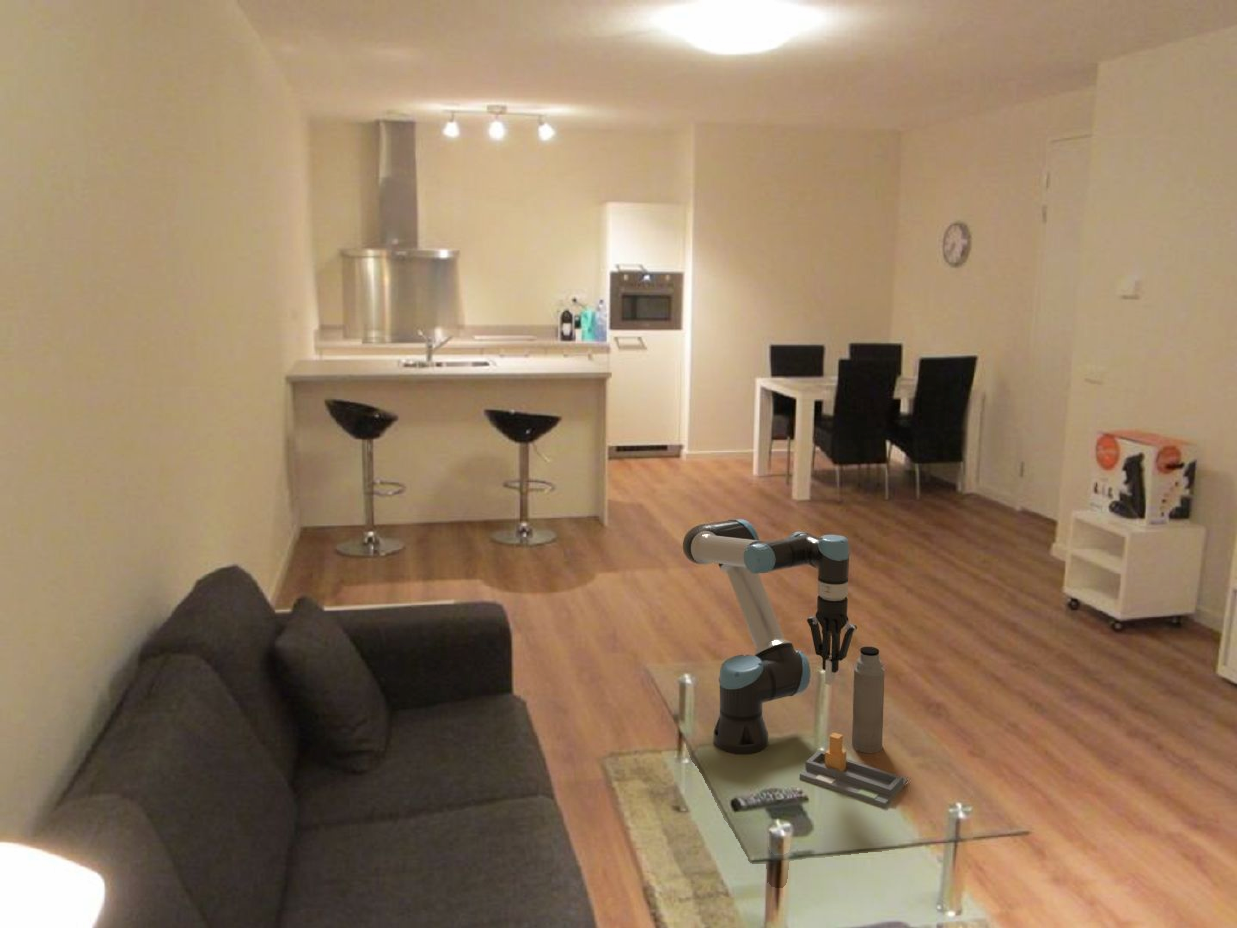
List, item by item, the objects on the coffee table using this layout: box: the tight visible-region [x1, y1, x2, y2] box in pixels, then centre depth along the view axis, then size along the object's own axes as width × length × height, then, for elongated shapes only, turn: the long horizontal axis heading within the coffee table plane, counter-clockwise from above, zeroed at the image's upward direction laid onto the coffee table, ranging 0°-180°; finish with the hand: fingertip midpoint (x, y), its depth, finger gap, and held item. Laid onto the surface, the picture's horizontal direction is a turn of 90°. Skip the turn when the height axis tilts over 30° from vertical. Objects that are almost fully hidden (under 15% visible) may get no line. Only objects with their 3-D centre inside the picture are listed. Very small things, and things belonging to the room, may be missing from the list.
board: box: [799, 749, 909, 808], centre depth 241 cm, size 23×14×3 cm, turn 51°
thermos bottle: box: [851, 646, 886, 754], centre depth 256 cm, size 8×8×28 cm
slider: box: [824, 732, 848, 771], centre depth 243 cm, size 4×4×9 cm
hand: (829, 682), depth 245 cm, fingers closed
